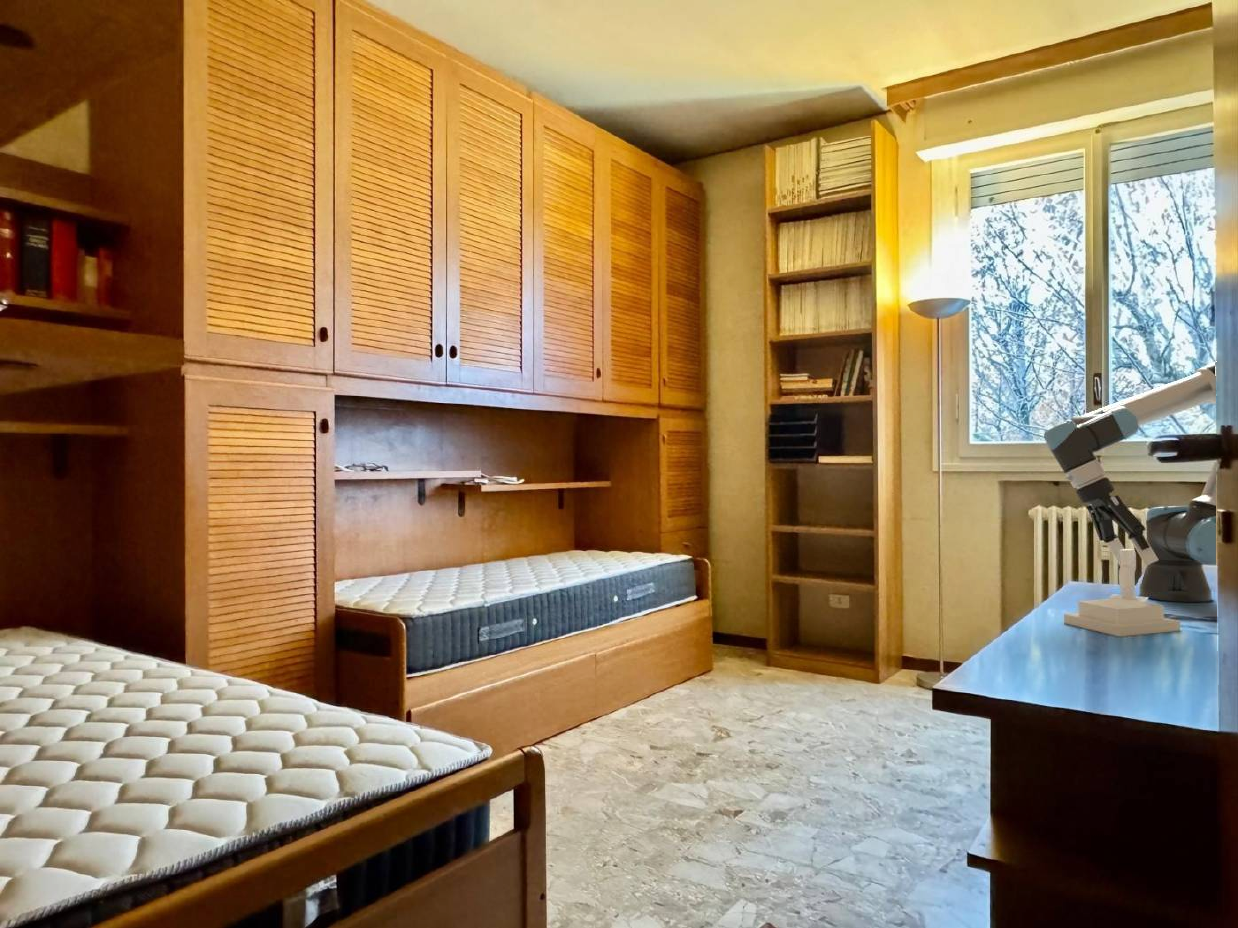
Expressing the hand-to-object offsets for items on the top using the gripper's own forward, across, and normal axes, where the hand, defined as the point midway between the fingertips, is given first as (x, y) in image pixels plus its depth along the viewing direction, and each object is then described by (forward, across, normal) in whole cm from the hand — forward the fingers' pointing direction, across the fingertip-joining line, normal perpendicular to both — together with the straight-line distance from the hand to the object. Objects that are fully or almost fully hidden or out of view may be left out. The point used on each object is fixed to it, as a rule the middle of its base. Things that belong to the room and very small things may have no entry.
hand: (1139, 564), depth 187 cm
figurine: (+9, 0, -8) cm, 12 cm away
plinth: (+8, +15, -16) cm, 23 cm away
